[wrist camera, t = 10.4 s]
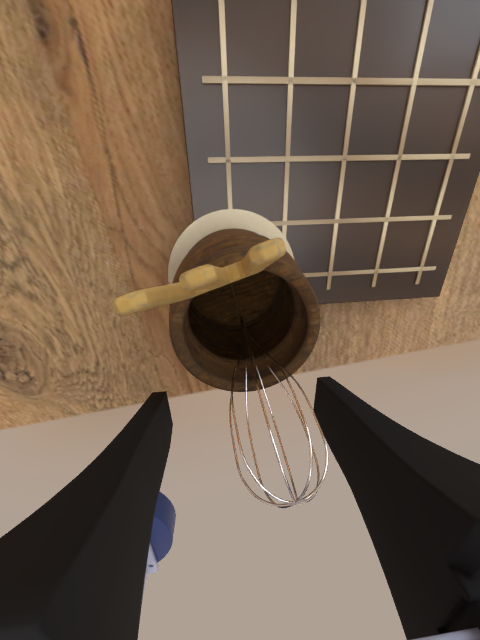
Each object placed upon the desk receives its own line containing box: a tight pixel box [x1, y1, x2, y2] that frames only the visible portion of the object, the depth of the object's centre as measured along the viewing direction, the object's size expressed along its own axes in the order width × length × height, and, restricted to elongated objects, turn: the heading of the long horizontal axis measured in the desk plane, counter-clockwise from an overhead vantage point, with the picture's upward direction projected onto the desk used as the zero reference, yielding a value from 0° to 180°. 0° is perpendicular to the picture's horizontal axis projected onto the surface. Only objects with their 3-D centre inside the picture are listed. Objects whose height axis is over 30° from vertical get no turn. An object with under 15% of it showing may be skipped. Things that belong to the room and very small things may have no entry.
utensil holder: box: [112, 228, 328, 509], centre depth 9 cm, size 6×6×12 cm
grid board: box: [168, 0, 480, 304], centre depth 13 cm, size 18×18×1 cm
